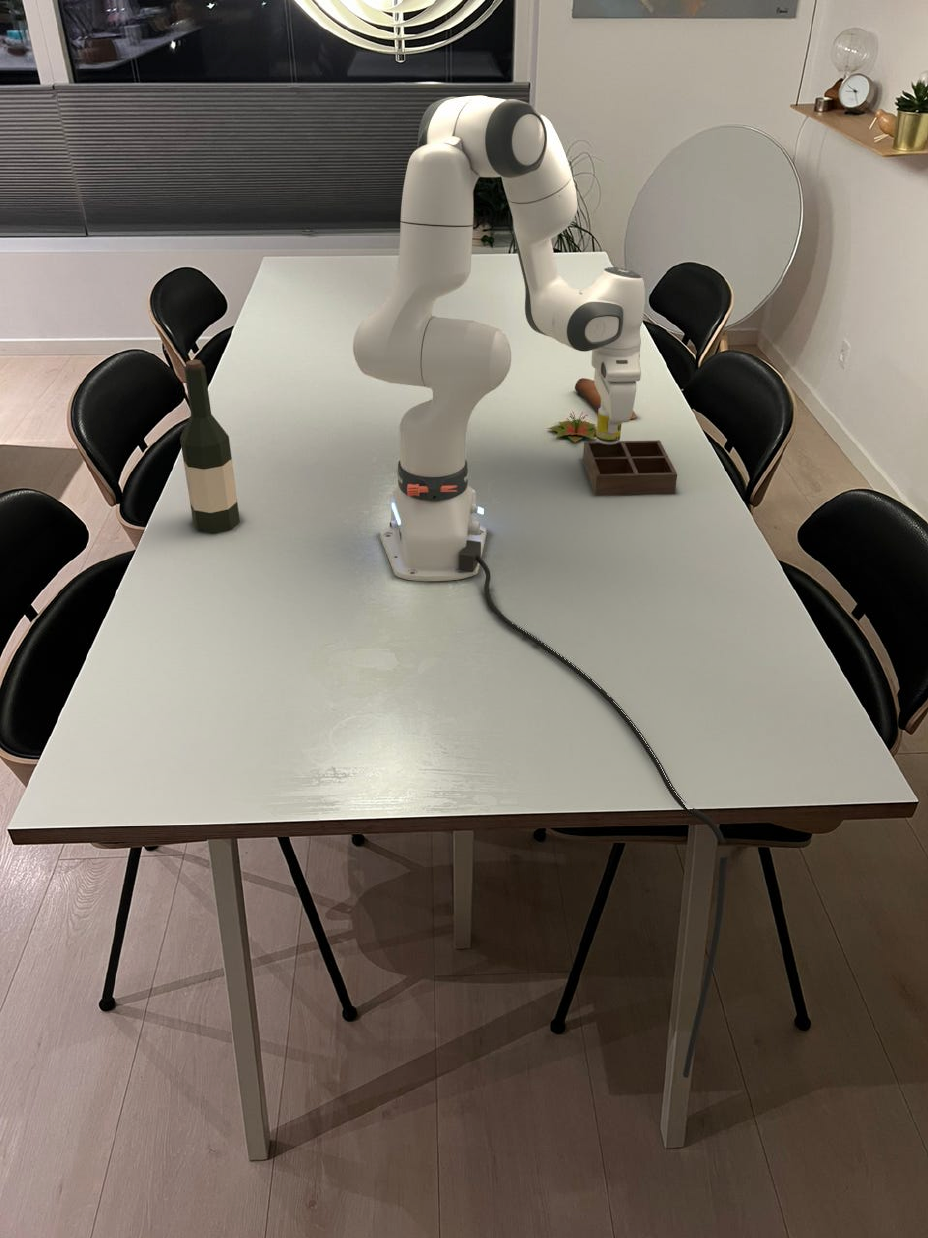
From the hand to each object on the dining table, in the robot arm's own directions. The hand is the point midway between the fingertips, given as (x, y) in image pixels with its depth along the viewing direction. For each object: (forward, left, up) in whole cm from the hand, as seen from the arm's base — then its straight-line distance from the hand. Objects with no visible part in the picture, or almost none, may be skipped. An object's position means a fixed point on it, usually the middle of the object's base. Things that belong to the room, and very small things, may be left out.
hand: (609, 425), depth 204 cm
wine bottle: (-19, +74, -9) cm, 77 cm away
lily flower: (+17, +3, -9) cm, 20 cm away
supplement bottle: (0, 0, -3) cm, 3 cm away
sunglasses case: (+32, -6, -9) cm, 34 cm away
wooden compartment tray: (-4, -4, -9) cm, 11 cm away
